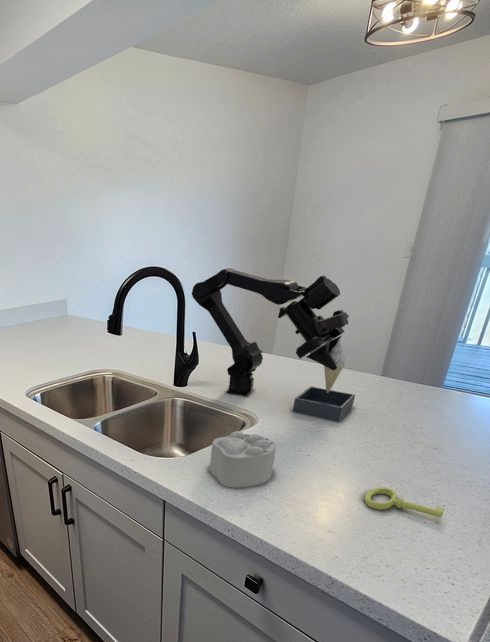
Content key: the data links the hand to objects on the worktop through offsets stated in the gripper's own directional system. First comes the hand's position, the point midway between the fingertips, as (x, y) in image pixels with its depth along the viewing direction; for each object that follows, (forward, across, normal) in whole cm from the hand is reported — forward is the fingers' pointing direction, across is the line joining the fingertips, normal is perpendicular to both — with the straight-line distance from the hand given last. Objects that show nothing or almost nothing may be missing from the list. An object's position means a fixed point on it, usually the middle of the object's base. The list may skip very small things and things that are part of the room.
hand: (339, 366), depth 117 cm
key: (+28, -38, -9) cm, 48 cm away
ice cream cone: (+5, 0, +7) cm, 8 cm away
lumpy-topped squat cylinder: (+8, -46, +11) cm, 48 cm away
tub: (+8, +1, +11) cm, 14 cm away
